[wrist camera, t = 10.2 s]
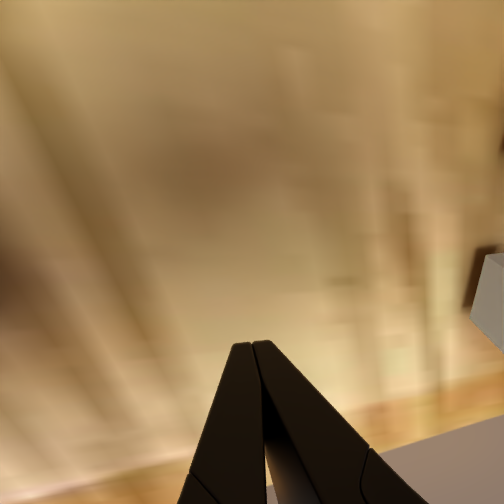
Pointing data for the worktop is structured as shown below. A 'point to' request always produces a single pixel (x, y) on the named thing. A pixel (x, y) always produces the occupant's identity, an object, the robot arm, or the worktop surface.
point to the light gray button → (490, 300)
